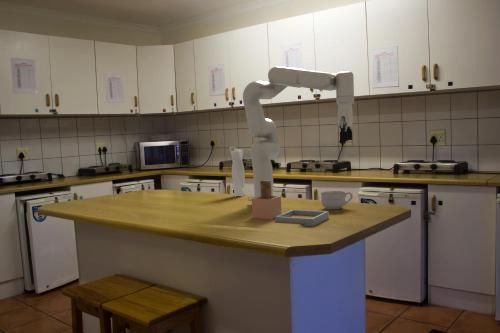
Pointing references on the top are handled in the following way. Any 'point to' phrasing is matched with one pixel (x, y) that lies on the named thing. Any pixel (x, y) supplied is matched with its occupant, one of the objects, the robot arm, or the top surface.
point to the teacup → (334, 199)
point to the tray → (306, 221)
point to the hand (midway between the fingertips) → (346, 140)
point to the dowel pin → (265, 189)
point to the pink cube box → (266, 207)
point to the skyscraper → (238, 172)
